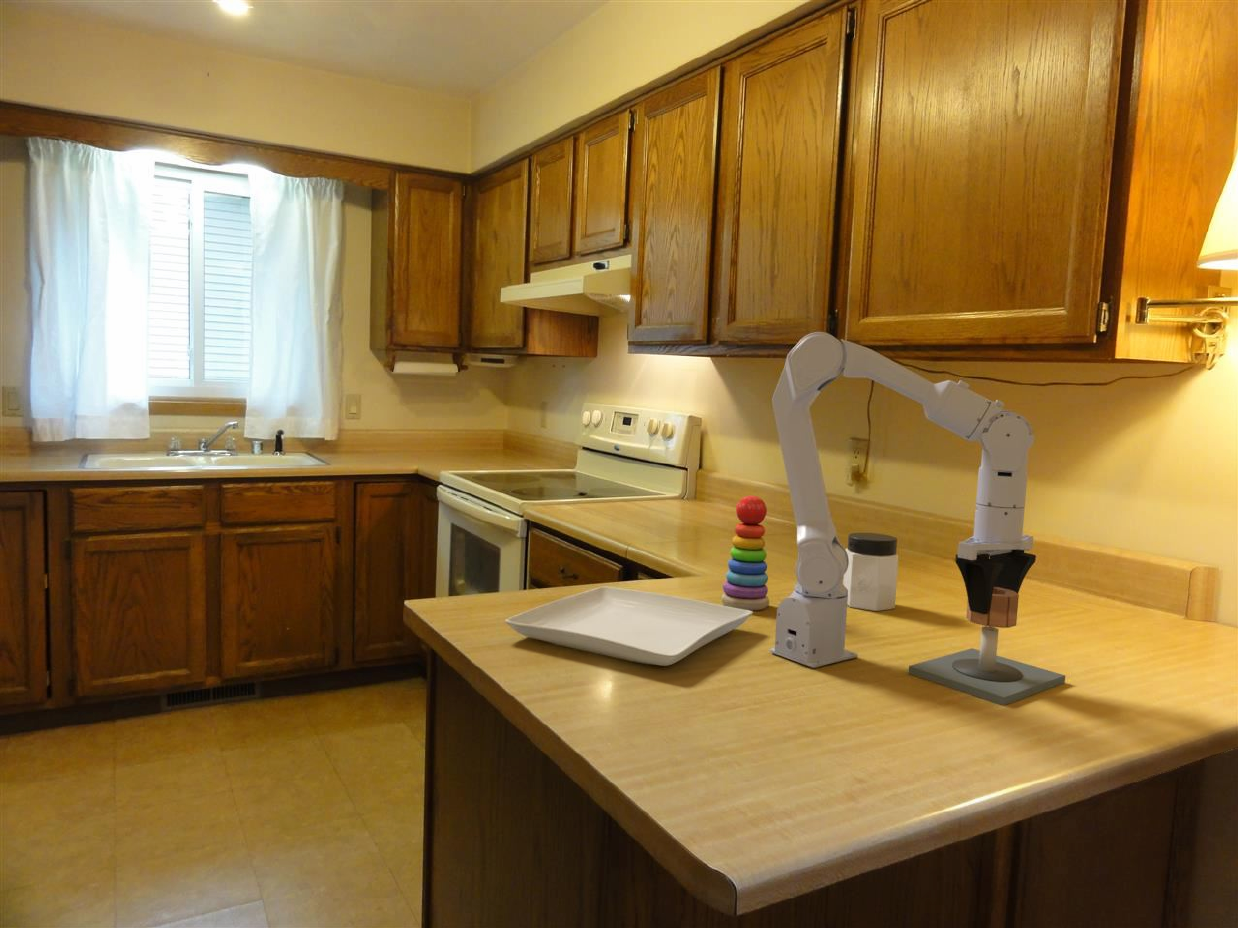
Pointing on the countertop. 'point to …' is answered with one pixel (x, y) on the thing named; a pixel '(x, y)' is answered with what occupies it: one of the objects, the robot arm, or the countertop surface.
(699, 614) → the square plate
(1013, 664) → the post board
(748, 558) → the stacking toy
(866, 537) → the jar
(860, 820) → the countertop surface
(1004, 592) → the collar
